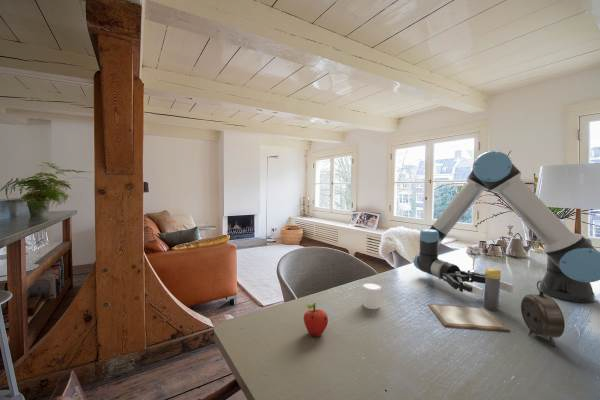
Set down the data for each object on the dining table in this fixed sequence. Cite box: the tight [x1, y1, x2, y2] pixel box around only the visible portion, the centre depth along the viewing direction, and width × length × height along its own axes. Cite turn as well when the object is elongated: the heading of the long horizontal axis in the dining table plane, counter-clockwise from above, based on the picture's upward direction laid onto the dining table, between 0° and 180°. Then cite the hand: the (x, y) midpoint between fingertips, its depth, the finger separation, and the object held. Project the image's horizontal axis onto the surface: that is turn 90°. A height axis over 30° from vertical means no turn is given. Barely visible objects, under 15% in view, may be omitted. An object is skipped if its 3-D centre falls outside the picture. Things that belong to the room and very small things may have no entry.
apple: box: [303, 302, 329, 337], centre depth 74 cm, size 8×7×10 cm
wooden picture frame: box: [427, 303, 511, 332], centre depth 85 cm, size 18×14×1 cm
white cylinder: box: [361, 282, 383, 310], centre depth 92 cm, size 7×7×7 cm
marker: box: [483, 267, 502, 312], centre depth 91 cm, size 4×4×14 cm
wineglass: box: [465, 245, 483, 273], centre depth 129 cm, size 7×7×12 cm
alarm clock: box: [520, 279, 566, 348], centre depth 73 cm, size 11×5×16 cm, turn 168°
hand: (497, 291), depth 88 cm, fingers open, 13 cm apart
